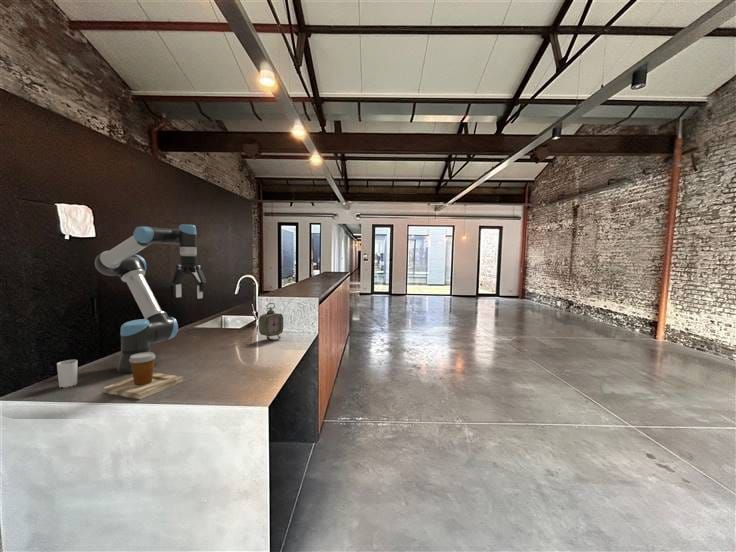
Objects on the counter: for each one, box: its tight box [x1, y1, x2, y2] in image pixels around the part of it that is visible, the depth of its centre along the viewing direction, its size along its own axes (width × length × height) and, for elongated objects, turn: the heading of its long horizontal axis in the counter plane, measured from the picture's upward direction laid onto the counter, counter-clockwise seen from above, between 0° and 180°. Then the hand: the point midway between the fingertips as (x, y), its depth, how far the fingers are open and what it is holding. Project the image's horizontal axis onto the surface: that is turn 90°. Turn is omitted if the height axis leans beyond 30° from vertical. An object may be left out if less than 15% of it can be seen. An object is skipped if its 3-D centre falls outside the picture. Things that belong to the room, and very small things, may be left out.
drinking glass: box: [56, 359, 78, 388], centre depth 145 cm, size 7×7×10 cm
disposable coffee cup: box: [129, 351, 156, 385], centre depth 145 cm, size 10×10×12 cm
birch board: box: [103, 372, 184, 400], centre depth 144 cm, size 20×20×2 cm
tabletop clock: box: [258, 302, 284, 343], centre depth 227 cm, size 14×9×25 cm, turn 147°
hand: (189, 297), depth 171 cm, fingers open, 13 cm apart
